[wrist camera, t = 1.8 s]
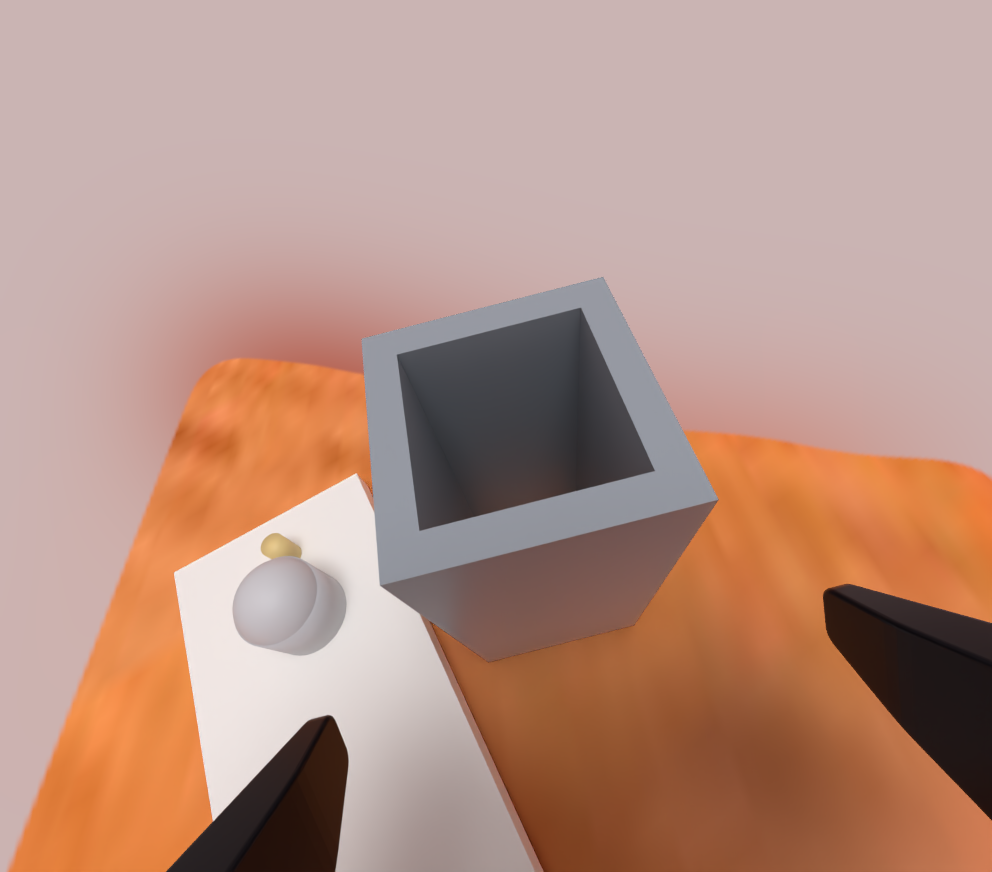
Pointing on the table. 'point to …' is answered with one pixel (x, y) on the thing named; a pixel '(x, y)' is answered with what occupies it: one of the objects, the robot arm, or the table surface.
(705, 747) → the table surface
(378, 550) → the sleeve
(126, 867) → the table surface
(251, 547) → the post board
